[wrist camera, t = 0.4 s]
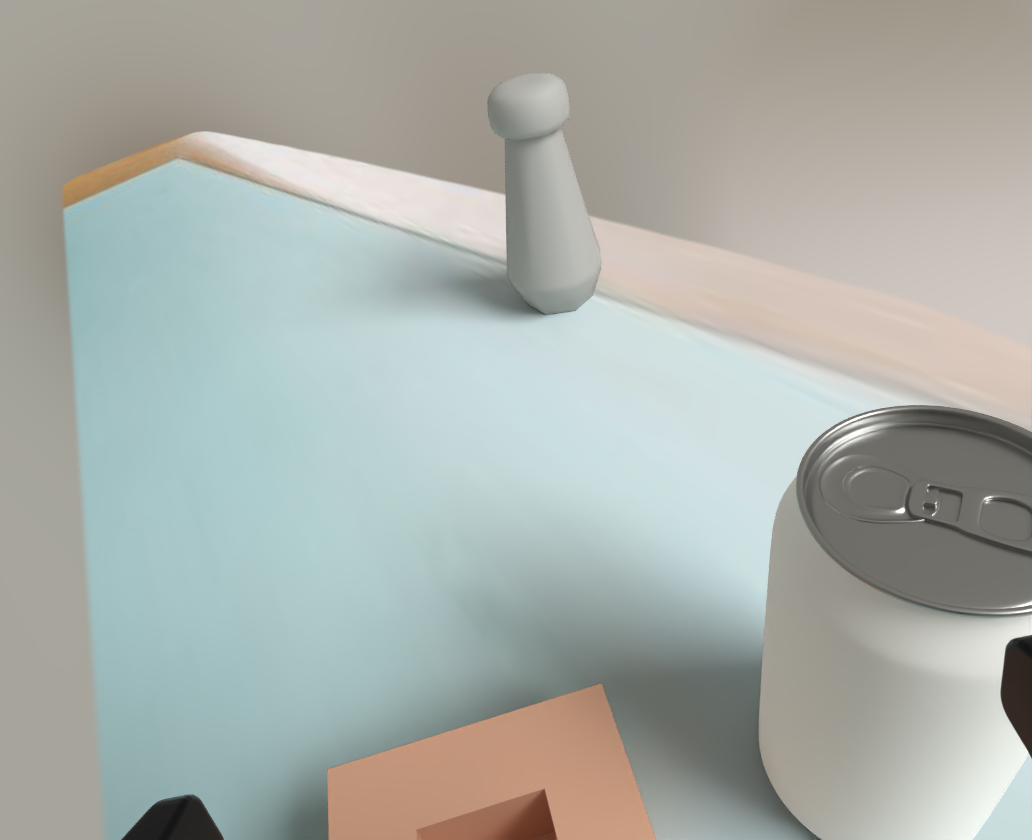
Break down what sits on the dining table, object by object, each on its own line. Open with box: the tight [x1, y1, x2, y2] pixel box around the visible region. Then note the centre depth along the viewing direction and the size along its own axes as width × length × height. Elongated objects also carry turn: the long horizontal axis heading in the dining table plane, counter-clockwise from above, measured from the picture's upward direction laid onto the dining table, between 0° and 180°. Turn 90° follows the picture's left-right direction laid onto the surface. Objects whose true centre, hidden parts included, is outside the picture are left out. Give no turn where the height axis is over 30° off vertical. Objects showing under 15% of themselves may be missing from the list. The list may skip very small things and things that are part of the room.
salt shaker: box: [487, 73, 601, 315], centre depth 41 cm, size 6×6×13 cm
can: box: [759, 405, 1032, 840], centre depth 19 cm, size 6×6×12 cm
